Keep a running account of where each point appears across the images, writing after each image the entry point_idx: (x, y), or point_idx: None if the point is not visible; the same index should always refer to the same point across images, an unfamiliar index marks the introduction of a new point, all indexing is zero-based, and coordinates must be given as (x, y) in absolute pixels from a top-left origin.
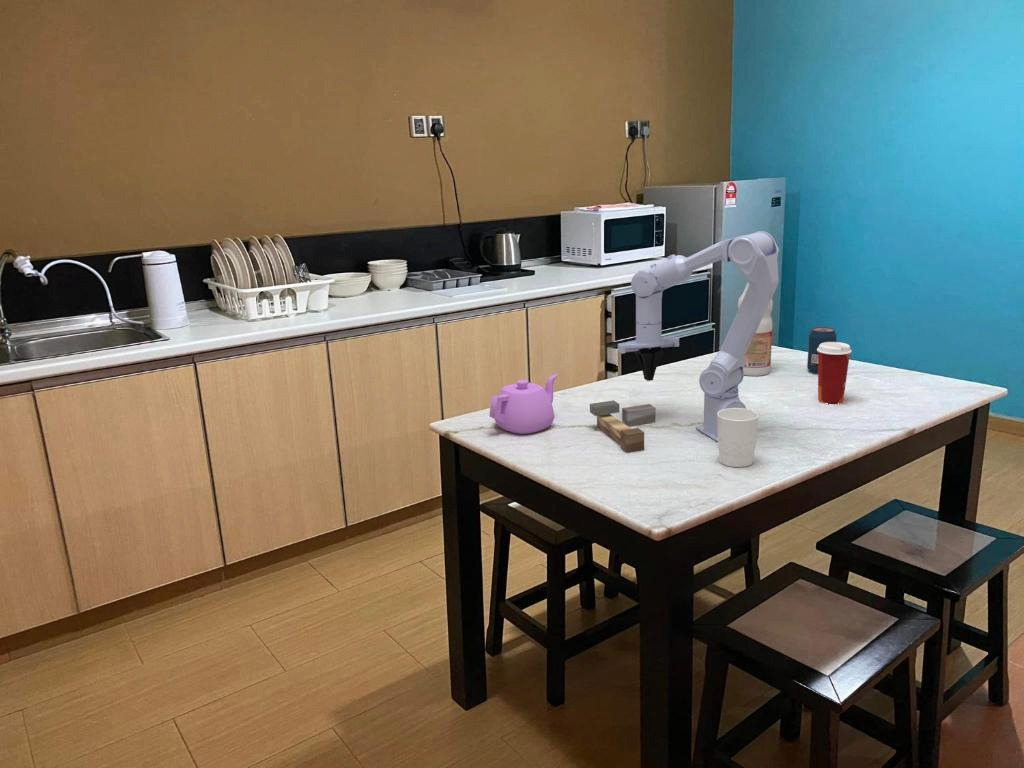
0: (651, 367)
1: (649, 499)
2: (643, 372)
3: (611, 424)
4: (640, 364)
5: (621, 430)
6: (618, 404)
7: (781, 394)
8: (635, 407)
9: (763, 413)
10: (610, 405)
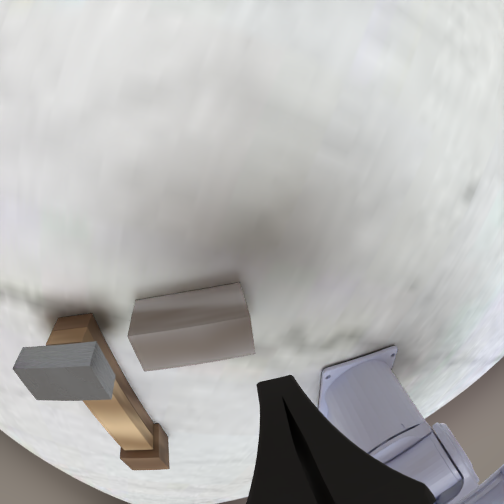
0: (303, 468)
1: (155, 497)
2: (261, 417)
3: (95, 414)
4: (256, 459)
5: (121, 459)
6: (108, 398)
7: None
8: (181, 341)
9: (477, 290)
10: (81, 399)
